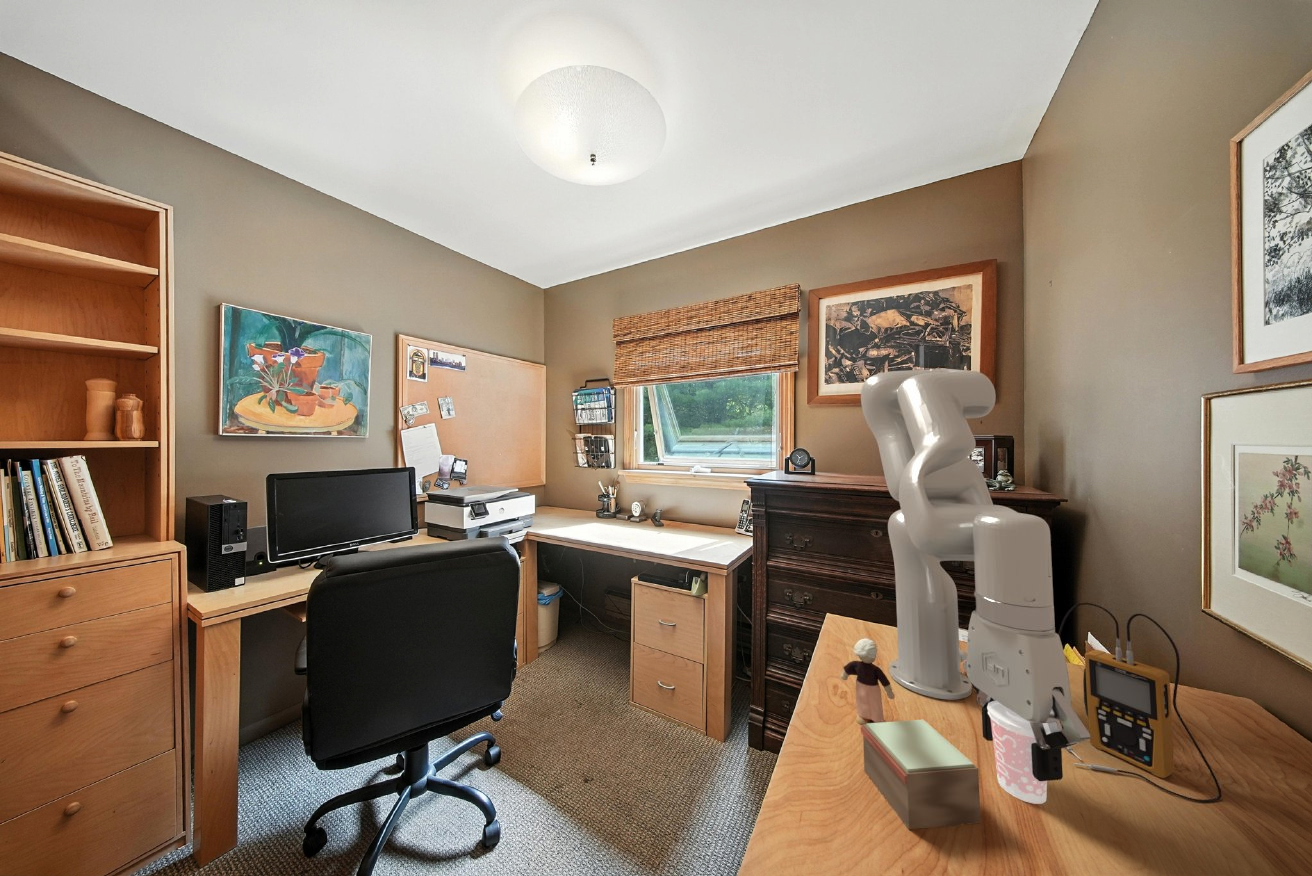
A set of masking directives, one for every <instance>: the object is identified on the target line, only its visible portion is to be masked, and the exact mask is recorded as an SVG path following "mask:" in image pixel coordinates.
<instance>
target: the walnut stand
mask: <svg viewBox="0 0 1312 876" xmlns="http://www.w3.org/2000/svg"><path fill="white" fill-rule="evenodd" d="M860 733H861V734H862V736H863V737H862V739H863V744H862V745H863V766H864V767H863V768H864V769H863V771H864V773H865V774H866V776H867V777H868V778H869V779H870V780H871V782H872V783H873V784H874V786H875V787H876V788H877V790H878V791H879V793H881V795H882V797H883V798H884V799H885V800H886V801H887V802H888V804H889V806H891V808H892V810H894V812H895V813H896V815H897V816H898V817H899V818H900V820H901V821H902V823H904V825H905V826H906V827H907V829H908V830H919V829H928V828H938V827H939V828H940V827H949V826H952V827H953V826H961V824H962V825H972V824H971V823H973V824H981V823H980V822H982V821H981V819H982V818H981V817H982V816H981V798H980V793H981V792H980V776H979V775H980V772H979V767H978V766H976V765H975V764H974V763H973V761H971V760H970V759H969V758H968V757H966V756H965V754H963V753H962V752H961V751H959V750H958V748H956V747H955V746H954V745H953V744H952V743H950V742H949V740H947V739H946V737H943V735H941V733H939V731H937V730H936V729H935V728H933V726H931V725H930V724H929V723H928V722H927V721H925V719H914V720H913V719H911V720H896V721H886V722H881V723H873V722H869V723H867V724H864V725H861V726H860ZM969 823H970V824H969Z"/></svg>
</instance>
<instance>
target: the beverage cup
mask: <svg viewBox="0 0 1312 876" xmlns="http://www.w3.org/2000/svg"><path fill="white" fill-rule="evenodd" d="M987 710H988V715H989V716H990V718H991V726H992V735H993V741H992V743H993V750H994V752H993V753H994V760H995V768H996V769H995V770H996V775H997V776H996V777H997V782H998V784H999V786H1000V787H1001V788H1002V790H1003V789H1004V791H1005V792H1007V793H1008V794H1010V795H1011V796H1013V797H1014V798H1016V799H1018V800H1020V801H1023V802H1026V803H1030V804H1034V805H1037V804H1038V805H1040V804H1041V805H1042V804H1044V803H1045V802H1047V797H1048V796H1047V795H1048V794H1047V791H1048V781H1038V780H1037V779H1036V778H1035V777H1034V776H1033V773H1032V752H1031V744H1032V743H1037V742H1036V739H1035V736H1034V733H1033V731H1032V728H1031V725H1030V722H1029V721H1027V720H1025V719H1023V718H1022V717H1020V716H1018V715H1017V714H1015V713H1014V712H1012V711H1011V710H1009V709H1008V708H1006V707H1005V706H1003V705H1002V704H1000V703H999V702H997V701H992V702H990V703H988V706H987ZM1043 726H1044V729H1045V732H1046V735H1048V734H1050V733H1051V732H1050V729H1049V726H1048V723H1043Z"/></svg>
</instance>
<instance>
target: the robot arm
mask: <svg viewBox="0 0 1312 876" xmlns="http://www.w3.org/2000/svg"><path fill="white" fill-rule="evenodd" d="M860 403H861V409H862V415H863V416H864V418H865V422H866V423H867V425H868V428H869V429H870V431H871V433H872V434H873V437H874V439H875V440H876V443H877V446H878V450H879V456H880V460H881V464H882V469H883V473H884V478H885V482H886V486H887V489H888V492H889V494H890V496H891V497H892V499H894V500H895V501H896V502H899V506H900V509H898V510H896V511H895V512H893V513H892V514H890V517H889V519H888V522H887V531H888V536H889V537H888V538H889V543H890V546H891V551H892V557H893V563H894V573H895V574H894V578H895V579H894V580H895V597H896V598H895V599H896V600H895V601H896V627H897V628H896V629H897V650H898V651H897V652H898V654H897V655H898V657H897V659H894V660H892V661H891V662H890V663H889V667H888V668H889V674H890V676H891V677H892V678H893V679H894V681H895V682H896V683H898V684H899V685H901V686H902V687H904V688H906V689H908V690H910V691H912V692H914V693H917V694H920V695H923V696H926V697H929V698H933V699H940V700H951V701H952V700H962V699H965V698H968V697H970V695H972V691H973V689H974V692H975V693H976V695H977V697H976V701H977V704H978V705H979V706H980V707H981V724H982V726H981V727H982V729H981V730H982V738H984V740H986V741H988V742H993V735H992V726H991V718H990V716H989V715H988V710H987V706H988V703H990V702H992V701H997V702H999V703H1000V704H1002V705H1003V706H1005V707H1006V708H1008V709H1009V710H1011V711H1012V712H1014V713H1015V714H1017V715H1018V716H1020V717H1022V718H1023V719H1025V720H1027V721H1029V722H1030V725H1031V728H1032V731H1033V733H1034V736H1035V739H1036V742H1037V743H1032V744H1031V752H1032V773H1033V776H1034V777H1035V778H1036V779H1037V780H1038V781H1047V782H1048V781H1049V782H1051V781H1060V780H1062V779H1063V777H1064V773H1063V758H1062V756H1063V755H1062V749H1066V748H1067V747H1068V746H1069V747H1071V746H1075V745H1076V744H1078V743H1082V742H1085V741H1090V733H1089V731H1088V730H1087V728H1086V727H1085V725H1084V724H1083V722H1082V721H1081V719H1080V718H1079V717H1078V715H1077V713H1076V712H1075V710H1074V709H1073V707H1072V693H1071V692H1072V691H1071V685H1070V684H1071V682H1070V677H1069V671H1068V665H1067V659H1066V655H1065V651H1064V648H1063V644H1062V641H1061V636H1060V637H1059V635H1058V633H1057V632H1056V627H1055V626H1056V625H1055V624H1056V623H1055V606H1054V587H1053V586H1054V585H1053V566H1052V562H1053V561H1052V546H1051V544H1052V543H1051V541H1052V540H1051V529H1050V526H1049V524H1048V523H1047V522H1046V520H1045V519H1043V518H1042V517H1039V516H1037V515H1034V514H1028V513H1021V512H1018V511H1016V510H1014V509H1013V508H1010V507H1007V506H1004V505H999V504H994V503H993V500H992V498H991V494H990V491H989V488H988V485H987V483H986V480H985V477H984V474H983V472H982V470H981V468H980V467H979V465H977V464H976V463H975V461H973V460H972V459H971V458H969V456H970V455H971V454H972V453H973V452H974V451H975V448H976V444H977V443H976V439H975V437H974V434H973V432H972V430H971V428H970V425H969V423H968V420H967V419H977V418H983V417H986V416H987V415H989V414H990V413H991V412H992V410H993V409H994V407H995V403H996V389H995V386H994V384H993V383H992V381H991V380H990V378H989V377H988V376H987V375H985V374H984V373H982V372H979V371H977V370H967V369H966V370H965V369H963V370H962V369H954V368H936V369H914V370H912V369H910V370H892V371H886V372H885V371H884V372H880V373H876V374H874V375H871V376H870V377H868V378H866V379H865V381H864V382H863V384H862V386H861V391H860ZM944 561H947V562H949V561H957V562H959V561H962V562H974V585H975V586H974V587H975V589H974V592H973V596H974V598H975V606H976V607H975V610H973V611H972V612H971V616H970V619H969V624H968V630H967V639H966V641H967V642H966V652H965V651H964V650H962V649H960V634H959V630H960V629H959V628H960V627H959V609H958V608H959V606H958V604H959V603H958V591H957V587H956V586H957V585H956V584H955V582H954V580H953V578H952V577H951V576H950V575H949V573H948V572H946V570H945V569H944V568H943V567H942V566H941V562H944ZM962 662H963V663H962ZM961 663H962V666H963V667H962V668H963V669H964V671H965V672H966V674H967V675H966V674H963V673H962V672H961ZM1043 723H1048V726H1049V729H1050V732H1051V733H1050V734H1048V735H1046V732H1045V729H1044V726H1043ZM1062 724H1063V727H1064V728H1063V729H1062Z"/></svg>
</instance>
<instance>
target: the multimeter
mask: <svg viewBox="0 0 1312 876" xmlns="http://www.w3.org/2000/svg"><path fill="white" fill-rule="evenodd" d="M1085 605H1089V606H1094V607H1096V608H1098V609H1102V610H1103V611H1104V612H1106V613H1107V614H1109V616H1110V617H1111V618H1112V619H1113V621H1114V623H1115V631H1116V638H1115V640H1116V641H1115V642H1116V643H1115V645H1116V647H1115V654H1112V653H1110V652H1106V651H1105V650H1099V649H1093V650H1090V651H1088V652H1086V653H1084V663H1085V664H1084V665H1085V666H1084V667H1085V668H1083V681H1082V682H1083V686H1082V687H1083V702H1084V708H1085V713H1086V716H1087V718H1088V728H1089V729H1088V730H1089V731H1088V732H1089V734H1090V739H1089V742H1090V744H1091V745H1092V746H1093V747H1094V748H1097V749H1098V750H1100V751H1104V752H1106V753H1109V754H1111V755H1113V756H1115V757H1118V758H1120V759H1122V760H1123V761H1126V762H1127V763H1129V764H1132V765H1134V766H1136V767H1138V768H1141V769H1143V770H1145V771H1147V772H1149V773H1151V775H1153V776H1155V777H1158V778H1160V779H1165V778H1168V777H1169V776H1170V775H1171V774H1173V773H1174V772H1175V760H1174V755H1175V753H1174V736H1173V735H1174V734H1173V733H1174V732H1173V716H1172V715H1173V713H1172V708H1173V709H1174V712H1175V715H1177V718H1178V719H1179V721H1180V723H1181V724H1182V726H1183V728H1184V730H1185V731H1186V733H1187V735H1188V736H1189V737H1190V740H1191V742H1193V744H1194V746H1195V748H1196V749H1197V751H1198V752H1199V755H1200V756H1201V758H1202V759H1203V760H1202V761H1204V764H1205V765H1206V767H1207V769H1208V771H1209V773H1210V774H1211V777H1212V779H1213V781H1214V784H1215V787H1216V788H1217V794H1218V795H1217V796H1216V797H1214V798H1210V799H1209V798H1208V799H1199V798H1194V797H1189V796H1186V795H1182V794H1179V793H1177V792H1174V791H1172V790H1169V789H1167V788H1165V787H1163V786H1161V785H1158V784H1157V783H1155V782H1154V781H1152V780H1150V779H1149V778H1148V777H1145V776H1143V775H1141V774H1139V773H1136V772H1131V771H1127V770H1121V769H1117V768H1114V767H1109V766H1104V765H1098V764H1092V763H1089V764H1084V763H1079V762H1078V763H1077V762H1073V763H1072V765H1076V766H1082V767H1087V768H1089V769H1091V770H1098V771H1104V772H1108V773H1109V772H1110V773H1122V774H1123V773H1124V774H1127V775H1133V776H1137V777H1138V778H1139V777H1140V778H1142V779H1143V780H1145V781H1147V782H1148V783H1150V784H1152V785H1154V786H1155V787H1157V788H1159V789H1160V790H1163V791H1165V792H1167V793H1170V794H1173V795H1175V796H1176V797H1180V798H1183V799H1185V800H1188V801H1193V802H1199V803H1213V802H1218V801H1220V800H1221V799H1222V797H1223V794H1222V788H1221V786H1220V784H1219V781H1218V779H1217V777H1216V775H1215V773H1214V771H1213V770H1212V767H1211V765H1210V764H1209V762H1208V760H1207V758H1206V756H1205V754H1204V753H1203V751H1202V750H1201V748H1200V747H1199V744H1197V742H1196V740H1195V738H1194V736H1193V735H1192V733H1191V732H1190V729H1189V728H1188V726H1187V725H1186V723H1185V721H1184V720H1183V718H1182V716H1181V715H1180V712H1179V711H1178V707H1177V692H1178V687H1179V686H1178V685H1179V680H1180V669H1181V666H1180V665H1181V664H1180V663H1181V660H1180V653H1179V651H1178V648H1177V646H1176V644H1175V642H1174V641H1173V639H1172V637H1171V635H1170V634H1169V633H1167V631H1166V630H1165V629H1164V627H1162V626H1161V625H1160V624H1159V623H1158V622H1157V621H1156V620H1154V619H1153V618H1151V617H1150V616H1148V615H1146V614H1144V613H1134V614H1133V615H1131V616H1130V617H1129V618H1128V620H1127V623H1126V638H1127V640H1126V648H1127V649H1126V650H1125V651H1126V658H1124V657H1123V650H1122V649H1123V648H1121V638H1120V630H1119V629H1120V627H1119V623H1118V620H1117V619H1116V617H1115V616H1114V615H1113V614H1112V613H1111V612H1110V611H1109V610H1108V609H1106V608H1104V606H1103V607H1102V606H1101V605H1098V604H1096V603H1090V602H1079V603H1077V604H1075V605H1073V606H1071V608H1069V610H1068V611H1067V612H1066V614H1065V616H1064V617H1063V619H1062V621H1061V624H1060V626H1059V630H1058V633H1057V634H1058V635H1059V637H1060V638H1061V634H1062V630H1063V628H1064V625H1065V623H1066V621H1067V618H1068V617H1069V616H1070V613H1071V612H1073V611H1074V610H1075V608H1077V607H1080V606H1085ZM1138 616H1141V617H1144V618H1146V619H1148V620H1150V622H1152V623H1153V624H1154V625H1156V626H1157V627H1158V628H1159V629H1160V630H1161V631H1162V632H1163V634H1164V635H1165V636H1166V637H1167V638H1168V641H1169V642H1170V644H1171V646H1172V647H1173V649H1174V652H1175V657H1176V658H1175V659H1176V671H1175V679H1174V686H1173V694H1172V699H1171V681H1170V673H1168V672H1167V671H1165V670H1164V669H1161V668H1159V667H1156V666H1150V665H1148V664H1144V663H1141V662H1138V661H1134V652H1133V650H1132V641H1131V634H1130V633H1131V632H1130V631H1131V630H1130V628H1131V626H1130V625H1131V622H1132V621H1133V619H1134V618H1136V617H1138ZM1172 704H1173V707H1172ZM1061 727H1062V729H1063V728H1064V727H1063V724H1062V723H1061ZM1065 749H1066V750H1067V751H1068V752H1069V753H1072V754H1073V755H1074V756H1075V757H1076V758H1077V759H1079V760H1080V761H1082V759H1081V757H1080V756H1079V755H1077V753H1076V752H1074V748H1071V746H1068V747H1067V748H1065Z"/></svg>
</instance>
